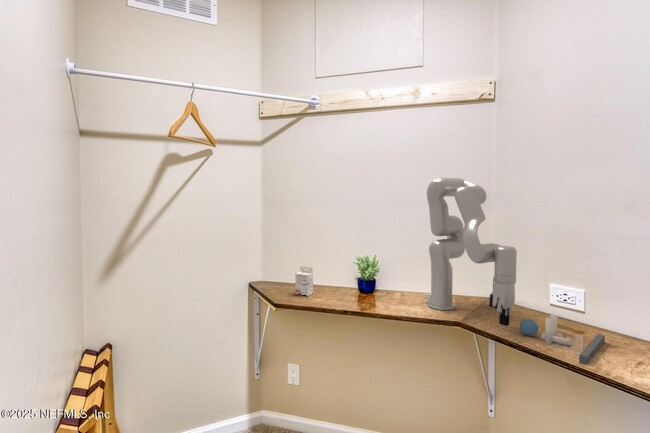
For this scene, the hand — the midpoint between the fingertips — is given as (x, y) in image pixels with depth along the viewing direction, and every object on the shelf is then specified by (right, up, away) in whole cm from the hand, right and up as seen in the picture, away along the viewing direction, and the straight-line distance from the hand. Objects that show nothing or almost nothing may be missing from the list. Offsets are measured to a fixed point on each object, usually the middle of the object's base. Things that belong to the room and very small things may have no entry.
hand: (504, 324), depth 136 cm
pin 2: (+12, -2, -10) cm, 16 cm away
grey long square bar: (+18, -3, -21) cm, 28 cm away
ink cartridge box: (-81, 0, +50) cm, 95 cm away
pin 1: (+9, -2, -14) cm, 16 cm away
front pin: (+8, -1, -10) cm, 13 cm away
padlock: (+10, 0, +26) cm, 28 cm away
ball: (+6, +1, -7) cm, 9 cm away
